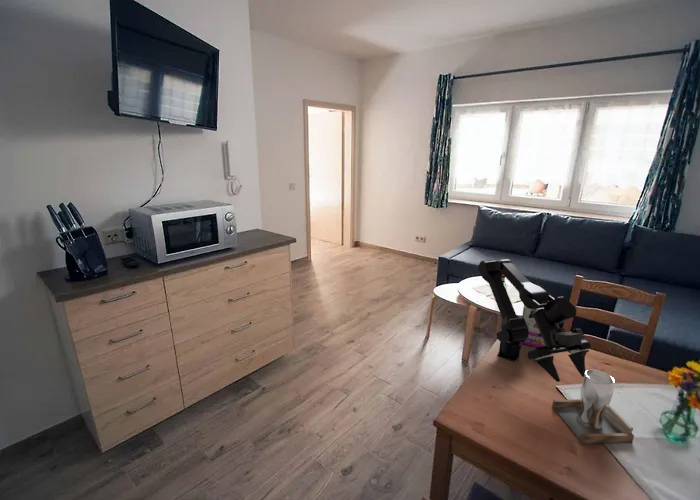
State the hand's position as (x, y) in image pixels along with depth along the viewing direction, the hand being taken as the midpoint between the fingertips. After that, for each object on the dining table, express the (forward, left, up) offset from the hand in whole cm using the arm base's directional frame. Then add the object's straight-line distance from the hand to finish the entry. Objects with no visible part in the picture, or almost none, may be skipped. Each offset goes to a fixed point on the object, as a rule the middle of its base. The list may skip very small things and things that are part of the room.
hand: (571, 379), depth 100 cm
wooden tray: (+6, -5, -9) cm, 12 cm away
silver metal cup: (+6, -5, -9) cm, 12 cm away
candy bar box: (-15, +30, -9) cm, 35 cm away
